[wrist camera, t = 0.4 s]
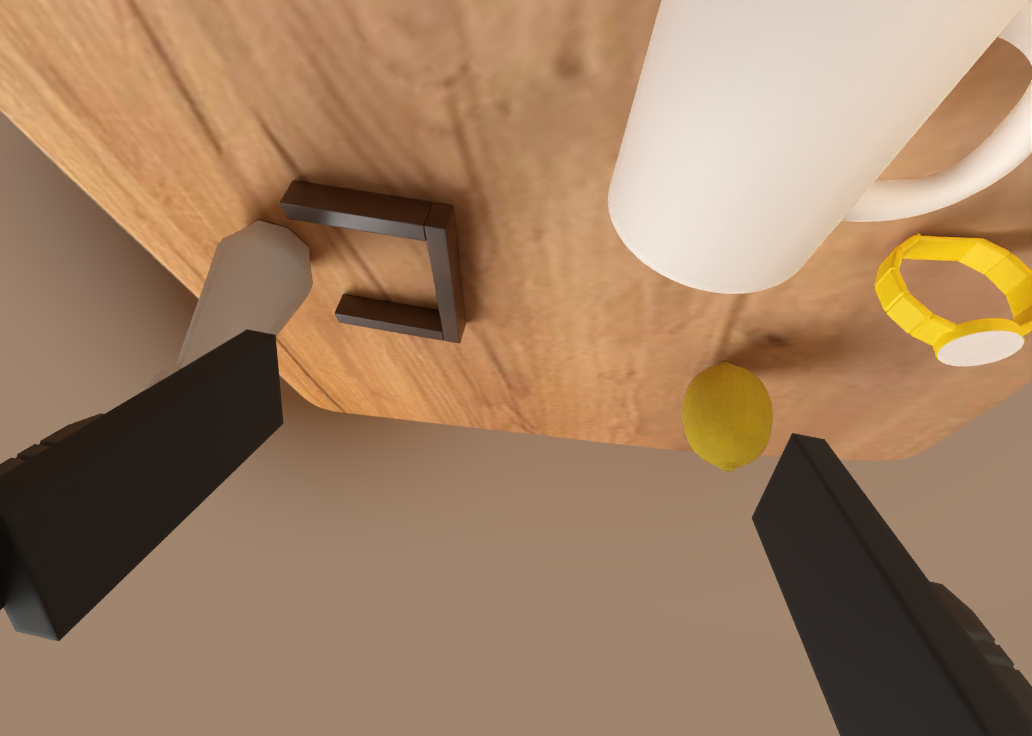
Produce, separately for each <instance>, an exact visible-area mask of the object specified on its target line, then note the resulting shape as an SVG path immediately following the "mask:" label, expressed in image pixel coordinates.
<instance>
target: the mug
mask: <svg viewBox="0 0 1032 736" xmlns="http://www.w3.org/2000/svg"><path fill="white" fill-rule="evenodd" d="M997 37H999V38H1001V39H1004V40H1005V41H1007V42H1009V43H1011V44H1012V45H1014V46H1015V47H1016V48H1018V49H1019V50H1020V51H1021V52H1023V54H1024V55H1025V56H1026V57H1027V58H1028V60H1029V61H1030V63H1031V66H1032V0H661V3H660V7H659V11H658V14H657V18H656V21H655V25H654V29H653V32H652V36H651V39H650V43H649V47H648V50H647V54H646V58H645V61H644V65H643V68H642V72H641V76H640V79H639V83H638V86H637V90H636V94H635V97H634V101H633V104H632V108H631V112H630V115H629V119H628V123H627V126H626V130H625V133H624V137H623V141H622V144H621V148H620V151H619V155H618V159H617V162H616V166H615V170H614V173H613V177H612V180H611V184H610V188H609V194H608V207H609V213H610V217H611V220H612V223H613V225H614V227H615V229H616V231H617V233H618V235H619V236H620V238H621V239H622V241H623V242H624V243H625V245H626V246H627V247H628V248H629V249H630V251H631V252H632V253H633V254H634V255H635V256H636V257H638V258H639V259H640V260H641V261H642V262H643V263H645V264H646V265H647V266H649V267H650V268H652V269H653V270H655V271H656V272H658V273H660V274H661V275H663V276H665V277H667V278H669V279H671V280H673V281H676V282H678V283H681V284H683V285H686V286H689V287H692V288H696V289H699V290H704V291H709V292H716V293H726V294H741V293H751V292H757V291H761V290H765V289H768V288H771V287H774V286H776V285H778V284H780V283H783V282H784V281H786V280H787V279H789V278H791V277H792V276H793V275H794V274H796V273H797V272H798V271H799V270H800V269H801V268H802V266H803V265H804V264H805V263H806V262H807V261H808V259H809V258H810V257H811V256H812V255H813V253H814V252H815V251H816V250H817V249H818V248H819V246H820V245H821V244H822V243H823V242H824V240H825V239H826V238H827V237H828V236H829V235H830V233H831V232H832V231H833V230H834V229H835V228H836V226H837V225H838V224H839V223H840V222H841V221H852V222H874V221H888V220H896V219H903V218H908V217H913V216H918V215H922V214H925V213H929V212H932V211H935V210H938V209H941V208H944V207H946V206H949V205H952V204H954V203H956V202H959V201H961V200H963V199H965V198H967V197H969V196H971V195H973V194H975V193H977V192H979V191H981V190H983V189H985V188H986V187H988V186H990V185H991V184H993V183H995V182H996V181H998V180H999V179H1001V178H1002V177H1004V176H1005V175H1006V174H1008V173H1009V172H1011V171H1012V170H1013V169H1014V168H1016V167H1017V166H1018V165H1019V164H1020V163H1022V162H1023V161H1024V160H1025V159H1026V158H1027V157H1028V156H1029V155H1030V154H1031V153H1032V80H1031V83H1030V85H1029V87H1028V88H1027V90H1026V92H1025V93H1024V95H1023V96H1022V98H1021V99H1020V100H1019V102H1018V103H1017V104H1016V106H1015V107H1014V108H1013V109H1012V111H1011V112H1010V113H1009V114H1008V116H1007V117H1006V118H1005V119H1004V120H1003V121H1002V122H1001V124H1000V125H999V126H998V127H997V128H996V129H995V130H994V131H993V132H992V133H991V134H990V135H989V136H988V137H987V138H986V139H985V140H984V141H983V142H982V143H981V144H980V145H979V146H978V147H977V148H976V149H975V150H973V151H972V152H971V153H970V154H969V155H967V156H966V157H965V158H963V159H962V160H960V161H959V162H957V163H956V164H954V165H953V166H951V167H949V168H947V169H945V170H943V171H941V172H938V173H936V174H933V175H929V176H926V177H921V178H915V179H906V180H876V179H877V178H878V177H879V176H880V174H881V173H882V172H883V171H884V170H885V169H886V167H887V166H888V165H889V164H890V163H891V162H892V160H893V159H894V158H895V157H896V156H897V154H898V153H899V152H900V151H901V150H902V149H903V147H904V146H905V145H906V144H907V143H908V141H909V140H910V139H911V138H912V137H913V136H914V134H915V133H916V132H917V131H918V130H919V129H920V127H921V126H922V125H923V124H924V123H925V121H926V120H927V119H928V118H929V117H930V116H931V114H932V113H933V112H934V111H935V110H936V108H937V107H938V106H939V105H940V104H941V103H942V101H943V100H944V99H945V98H946V97H947V96H948V94H949V93H950V92H951V91H952V90H953V88H954V87H955V86H956V85H957V84H958V83H959V81H960V80H961V79H962V78H963V77H964V75H965V74H966V73H967V72H968V71H969V70H970V68H971V67H972V66H973V65H974V64H975V63H976V61H977V60H978V59H979V58H980V57H981V55H982V54H983V53H984V52H985V51H986V50H987V48H988V47H989V46H990V45H991V44H992V42H993V41H994V40H995V39H996V38H997Z"/></svg>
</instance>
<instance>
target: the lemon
mask: <svg viewBox="0 0 1032 736" xmlns="http://www.w3.org/2000/svg"><path fill="white" fill-rule="evenodd" d="M682 414H683V425H684V429H685V433H686V436H687V439H688V441H689V443H690V445H691V447H692V449H693V450H694V451H695V452H696V453H697V455H699V456H700V457H701V458H702V459H704V460H705V461H707V462H708V463H710V464H712V465H715V466H718V467H720V468H721V469H722V470H723V471H727V472H731V471H733V470H734V469H735V468H737V467H741V466H744V465H747V464H748V463H750V462H752V461H754V460H755V459H757V457H759V456H760V455H761V453H762V452H763V451H764V449H765V448H766V446H767V444H768V441H769V438H770V434H771V428H772V419H773V411H772V404H771V400H770V397H769V394H768V392H767V390H766V388H765V386H764V385H763V383H762V382H761V381H760V379H759V378H758V377H756V376H755V375H754V374H753V373H752V372H750V371H748V370H746V369H744V368H742V367H739V366H735V365H732V364H730V363H729V362H721V363H720V364H718V365H717V366H713V367H710V368H708V369H706V370H704V371H702V372H701V373H699V374H698V375H697V376H696V377H695V378H694V379H693V380H692V382H691V383H690V385H689V386H688V388H687V390H686V393H685V397H684V402H683V413H682Z"/></svg>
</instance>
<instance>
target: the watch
mask: <svg viewBox="0 0 1032 736" xmlns="http://www.w3.org/2000/svg"><path fill="white" fill-rule="evenodd" d="M920 235H921V234H916V235H912V236H911V237H910V238H908V239H907V240H905V241H904V242H903V243H901V244H900V245H898V246H897V247H896V248H895V249H894V250H893V251H892V252H891V253H890V255H889V256H888V257H887V258H886V259H885V260H884V262H883V263H882V264H881V265H880V267H879V268H878V272H877V276H876V281H875V285H874V286H875V287H876V288H875V291H876V293H877V295H878V298H879V300H880V302H881V305H882V307H883V309H884V311H886V314H887V315H888V316H890V317H891V318H892V319H893V320H894V321H895V322H896V323H897V324H898V325H899V326H900V327H901V328H902V329H904V330H905V331H906V332H907V333H908V334H911V336H913V337H915V338H917V339H919V340H921V341H924V342H926V343H928V344H930V345H932V346H933V349H934V352H935V355H936V357H937V359H938V360H939V361H940V362H942V363H944V364H947V365H952V366H975V365H982V364H987V363H992V362H995V361H998V360H1001V359H1004V358H1006V357H1008V356H1010V355H1012V354H1014V353H1016V352H1017V351H1018V350H1019V349H1020V348H1022V346H1023V344H1024V342H1025V339H1024V336H1025V335H1027V334H1028V333H1030V332H1031V331H1032V270H1030V269H1029V268H1028V267H1027V266H1026V265H1025V264H1024V263H1023V262H1022V261H1021V260H1020V259H1018V258H1017V257H1016V256H1015V255H1014V254H1010V251H1008V250H1006V249H1004V248H1001V247H999V246H997V245H995V244H993V243H991V242H989V241H987V240H985V239H983V238H964V237H938V236H920ZM902 259H923V260H947V261H959V262H961V263H963V264H965V265H966V266H968V267H970V268H972V269H974V270H976V271H978V272H980V273H982V274H986V276H987V277H988V278H989V279H990V280H991V281H992V282H993V283H994V284H995V285H996V286H997V287H998V288H999V289H1000V290H1001V291H1002V292H1003V293H1004V294H1005V295H1006V297H1007V299H1008V302H1009V305H1010V307H1011V310H1012V313H1013V315H1014V318H1013V321H1011V320H1007V319H1002V318H985V319H978V320H972V321H968V322H965V323H961V324H958V325H957V324H955V323H953V322H950V321H948V320H946V319H944V318H941V317H939V316H937V315H935V314H933V313H932V312H931V311H930V310H928V309H927V308H926V307H925V306H924V305H923V304H922V303H920V302H919V301H918V300H917V299H916V298H915V297H914V296H912V295H911V294H910V293H909V291H908V289H907V287H906V285H905V283H904V281H903V278H902V276H901V274H900V272H899V269H900V264H901V260H902Z"/></svg>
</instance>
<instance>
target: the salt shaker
mask: <svg viewBox="0 0 1032 736" xmlns="http://www.w3.org/2000/svg"><path fill="white" fill-rule="evenodd" d="M309 254H310V247H308V246H307V245H306V244H305V243H304V242H303V241H302V240H301V239H299V238H298V237H297V236H296V235H295V234H294V233H293V232H292V231H290V230H289V229H288V228H286V227H282V226H279V225H275V224H271V223H267V222H263V221H259V220H258V221H256V222H254V223H253V224H251V225H249V226H247V227H245V228H244V229H242V230H240V231H238V232H236V233H234V234H232V235H230V236H227V237H225V238H223V239H222V240H221V241H220V242H219V243H218V245H217V248H216V251H215V254H214V257H213V260H212V263H211V266H210V269H209V272H208V275H207V278H206V281H205V284H204V287H203V289H202V292H201V295H200V298H199V301H198V304H197V306H196V310H195V312H194V315H193V318H192V321H191V324H190V327H189V329H188V332H187V335H186V338H185V341H184V343H183V346H182V349H181V352H180V355H179V358H178V361H177V363H176V366H175V369H168V370H163V371H160V372H159V373H158V374H156V375H155V376H154V378H153V379H152V381H151V382H150V383H149V385H148V386H147V389H148V388H149V387H151V386H153V385H154V384H156V383H158V382H159V381H161V380H163V379H164V378H166V377H168V376H169V375H171V374H173V373H175V372H176V371H178V370H180V369H181V368H183V367H185V366H186V365H188V364H190V363H191V362H193V361H195V360H196V359H198V358H200V357H201V356H203V355H205V354H206V353H208V352H210V351H211V350H213V349H215V348H217V347H218V346H220V345H222V344H223V343H225V342H227V341H228V340H230V339H232V338H233V337H235V336H237V335H238V334H240V333H242V332H243V331H245V330H247V329H248V330H254V331H259V332H264V333H269V334H275V336H277V335H278V334H279V332H280V331H281V330H282V328H283V327H284V326H285V325H286V323H287V322H288V321H289V319H290V318H291V317H292V316H293V314H294V313H295V312H296V310H297V309H298V308H299V307H300V305H301V304H302V303H303V301H304V300H305V299H306V297H307V296H308V294H309V292H310V290H311V287H312V284H313V281H312V273H311V266H310V258H309Z"/></svg>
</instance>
